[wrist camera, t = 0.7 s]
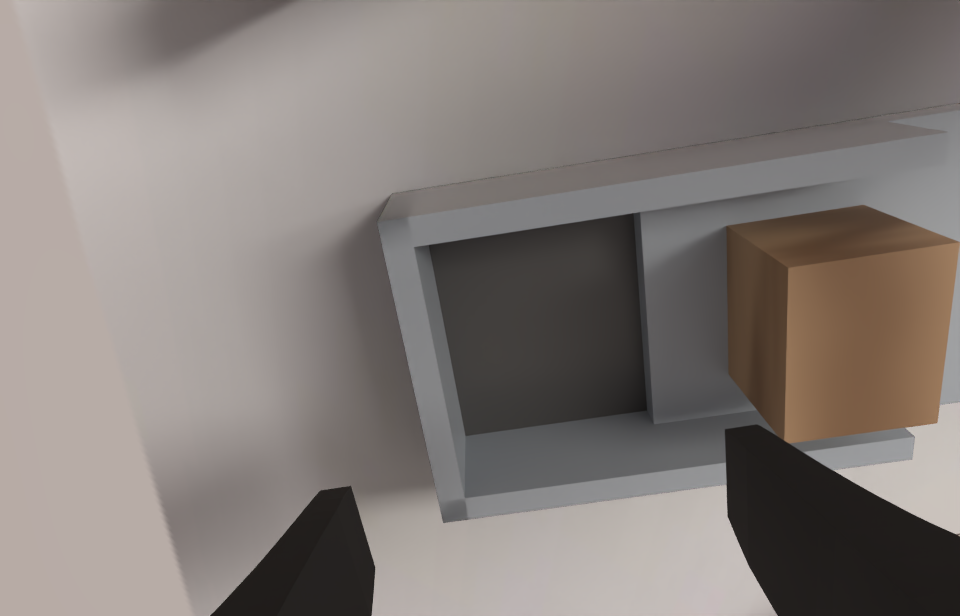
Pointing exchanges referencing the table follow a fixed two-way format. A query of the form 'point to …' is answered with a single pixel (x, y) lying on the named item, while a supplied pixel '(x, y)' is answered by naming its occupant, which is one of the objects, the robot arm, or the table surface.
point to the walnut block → (839, 320)
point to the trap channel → (627, 307)
